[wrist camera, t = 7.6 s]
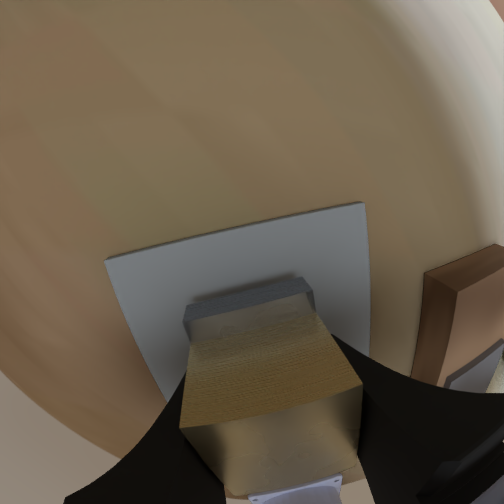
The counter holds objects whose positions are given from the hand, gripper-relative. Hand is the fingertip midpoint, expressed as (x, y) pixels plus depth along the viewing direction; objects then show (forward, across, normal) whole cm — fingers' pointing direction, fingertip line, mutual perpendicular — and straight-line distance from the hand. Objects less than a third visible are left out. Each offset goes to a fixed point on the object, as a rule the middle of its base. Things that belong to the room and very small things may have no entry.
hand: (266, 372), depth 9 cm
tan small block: (+1, 0, 0) cm, 1 cm away
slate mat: (+2, 0, 0) cm, 2 cm away
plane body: (+2, -12, +8) cm, 15 cm away
